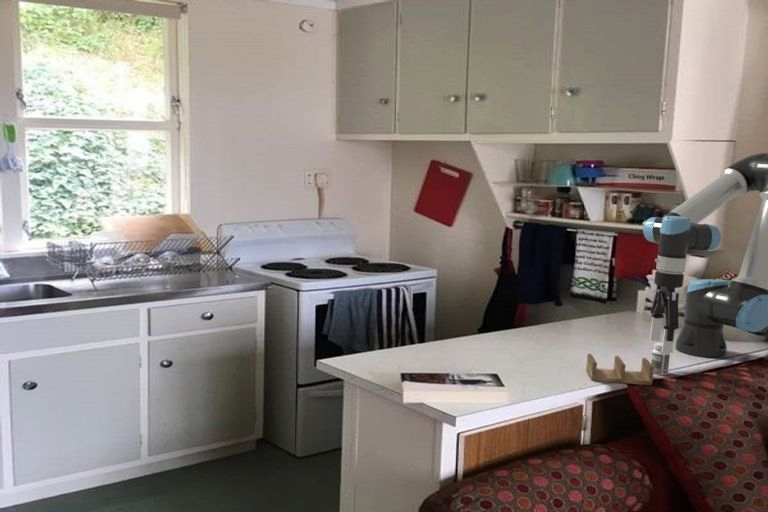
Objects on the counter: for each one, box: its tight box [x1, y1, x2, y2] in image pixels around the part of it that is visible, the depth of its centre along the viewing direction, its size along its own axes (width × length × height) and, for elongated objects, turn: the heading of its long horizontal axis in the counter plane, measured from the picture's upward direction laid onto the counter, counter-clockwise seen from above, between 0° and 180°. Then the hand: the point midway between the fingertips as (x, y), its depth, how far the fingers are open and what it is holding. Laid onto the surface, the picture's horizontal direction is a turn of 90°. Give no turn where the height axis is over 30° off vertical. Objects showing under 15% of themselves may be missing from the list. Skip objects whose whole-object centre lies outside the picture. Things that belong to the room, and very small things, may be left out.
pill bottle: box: [650, 342, 671, 376], centre depth 229 cm, size 5×5×8 cm
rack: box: [585, 353, 654, 386], centre depth 222 cm, size 16×9×5 cm, turn 85°
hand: (660, 346), depth 228 cm, fingers open, 13 cm apart
